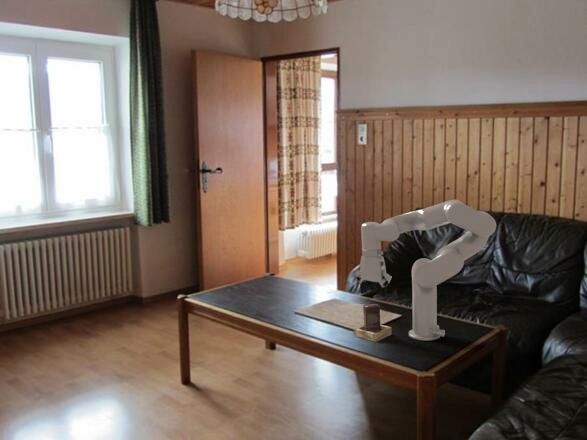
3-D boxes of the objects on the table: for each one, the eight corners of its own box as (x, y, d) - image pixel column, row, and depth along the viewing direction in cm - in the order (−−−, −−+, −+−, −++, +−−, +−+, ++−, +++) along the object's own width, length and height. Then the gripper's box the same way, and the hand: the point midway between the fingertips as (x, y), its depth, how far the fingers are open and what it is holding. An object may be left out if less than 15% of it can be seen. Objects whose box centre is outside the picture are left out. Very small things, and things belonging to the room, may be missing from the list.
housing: (391, 334, 248) (391, 327, 248) (376, 341, 240) (375, 334, 240) (369, 328, 256) (369, 322, 255) (353, 336, 248) (353, 329, 247)
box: (377, 331, 251) (377, 303, 249) (380, 334, 246) (380, 306, 244) (363, 332, 250) (362, 304, 248) (366, 336, 245) (365, 307, 244)
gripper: (395, 253, 240) (396, 295, 242) (359, 249, 251) (361, 289, 254) (384, 256, 234) (386, 299, 237) (348, 252, 246) (350, 293, 248)
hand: (373, 294), depth 245 cm, fingers open, 9 cm apart
